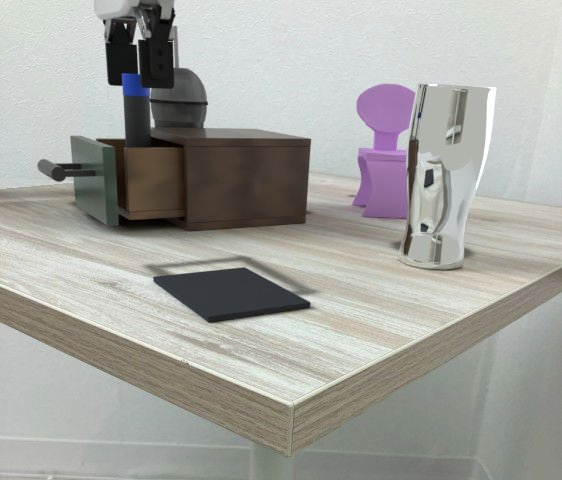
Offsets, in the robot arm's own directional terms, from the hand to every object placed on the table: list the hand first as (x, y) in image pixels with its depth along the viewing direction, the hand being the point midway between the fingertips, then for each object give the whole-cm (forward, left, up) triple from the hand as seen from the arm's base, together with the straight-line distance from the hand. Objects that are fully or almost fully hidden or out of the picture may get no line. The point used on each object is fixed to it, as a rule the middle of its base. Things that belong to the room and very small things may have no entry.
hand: (139, 87), depth 64 cm
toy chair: (+3, +31, -14) cm, 34 cm away
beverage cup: (-13, +10, -14) cm, 21 cm away
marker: (0, 0, -11) cm, 11 cm away
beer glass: (+25, +19, -14) cm, 34 cm away
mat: (+27, -3, -13) cm, 30 cm away
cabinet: (0, +10, -13) cm, 16 cm away
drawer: (0, -1, -12) cm, 13 cm away
